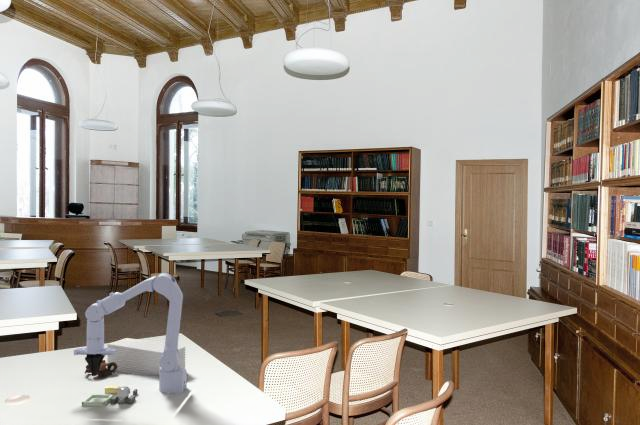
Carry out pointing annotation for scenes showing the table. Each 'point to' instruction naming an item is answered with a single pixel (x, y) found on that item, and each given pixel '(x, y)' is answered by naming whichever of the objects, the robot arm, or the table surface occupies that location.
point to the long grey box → (140, 356)
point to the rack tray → (97, 400)
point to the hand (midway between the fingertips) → (94, 375)
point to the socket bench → (129, 400)
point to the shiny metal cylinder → (122, 395)
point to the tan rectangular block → (111, 390)
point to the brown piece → (103, 369)
